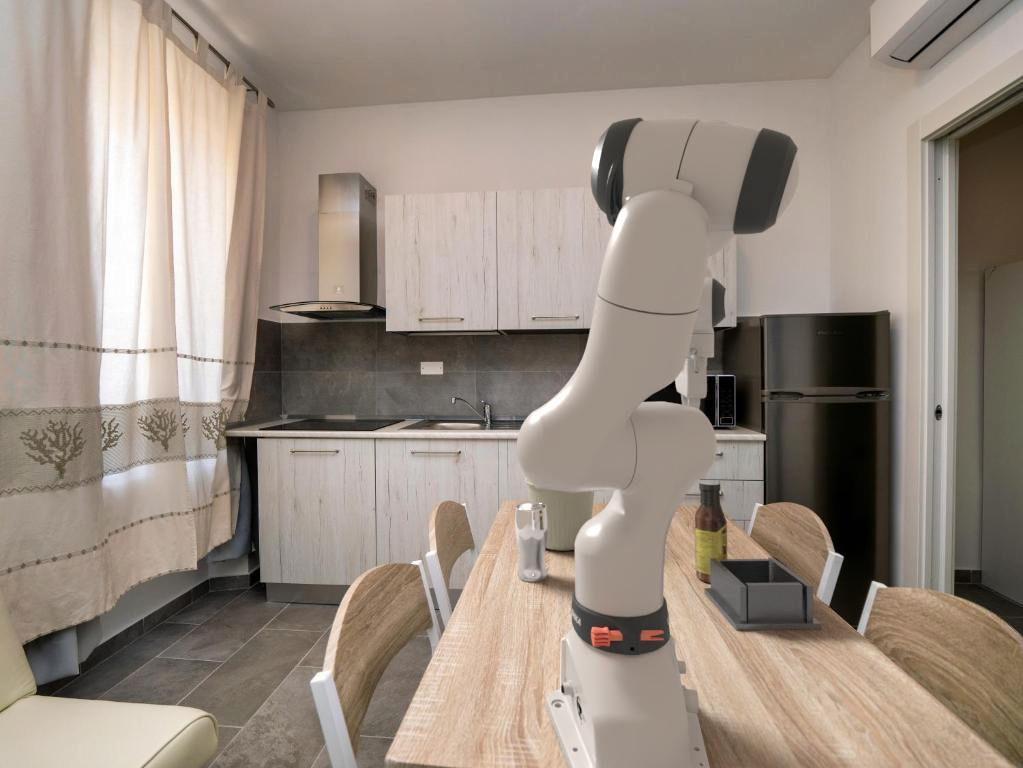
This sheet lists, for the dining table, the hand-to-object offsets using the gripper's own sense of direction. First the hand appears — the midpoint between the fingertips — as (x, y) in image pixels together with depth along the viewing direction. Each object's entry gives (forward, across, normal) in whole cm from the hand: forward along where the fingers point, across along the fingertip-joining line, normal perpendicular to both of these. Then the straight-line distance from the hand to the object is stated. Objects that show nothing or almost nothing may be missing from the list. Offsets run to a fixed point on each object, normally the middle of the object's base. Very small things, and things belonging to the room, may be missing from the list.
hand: (690, 417), depth 102 cm
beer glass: (+34, -4, +32) cm, 47 cm away
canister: (+34, +17, +28) cm, 48 cm away
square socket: (+33, -11, -10) cm, 37 cm away
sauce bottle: (+34, +2, -4) cm, 34 cm away
